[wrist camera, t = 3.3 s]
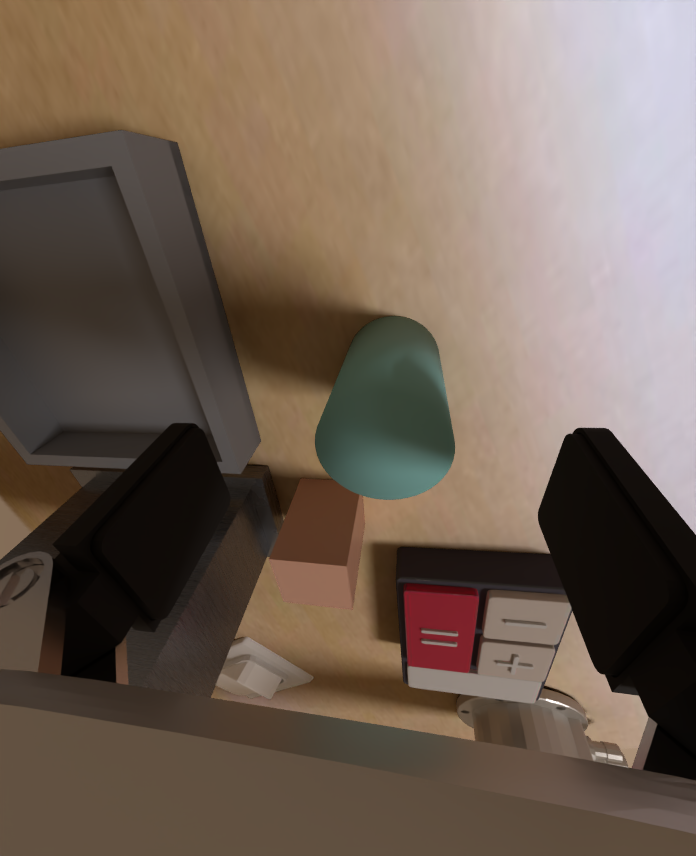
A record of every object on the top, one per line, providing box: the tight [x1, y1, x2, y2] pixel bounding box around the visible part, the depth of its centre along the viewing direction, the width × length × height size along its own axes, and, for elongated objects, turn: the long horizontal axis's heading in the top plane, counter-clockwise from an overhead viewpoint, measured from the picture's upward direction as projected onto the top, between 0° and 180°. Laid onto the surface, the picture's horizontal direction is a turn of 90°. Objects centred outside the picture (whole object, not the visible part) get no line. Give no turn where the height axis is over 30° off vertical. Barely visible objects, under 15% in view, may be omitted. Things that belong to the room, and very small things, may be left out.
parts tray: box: [0, 130, 261, 474], centre depth 17 cm, size 14×14×3 cm
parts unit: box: [0, 465, 284, 698], centre depth 20 cm, size 14×8×12 cm, turn 95°
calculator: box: [396, 547, 572, 703], centre depth 26 cm, size 11×4×15 cm
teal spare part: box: [315, 316, 455, 500], centre depth 14 cm, size 4×4×7 cm
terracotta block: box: [269, 478, 365, 610], centre depth 20 cm, size 4×4×6 cm
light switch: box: [216, 637, 314, 699], centre depth 41 cm, size 11×4×13 cm
